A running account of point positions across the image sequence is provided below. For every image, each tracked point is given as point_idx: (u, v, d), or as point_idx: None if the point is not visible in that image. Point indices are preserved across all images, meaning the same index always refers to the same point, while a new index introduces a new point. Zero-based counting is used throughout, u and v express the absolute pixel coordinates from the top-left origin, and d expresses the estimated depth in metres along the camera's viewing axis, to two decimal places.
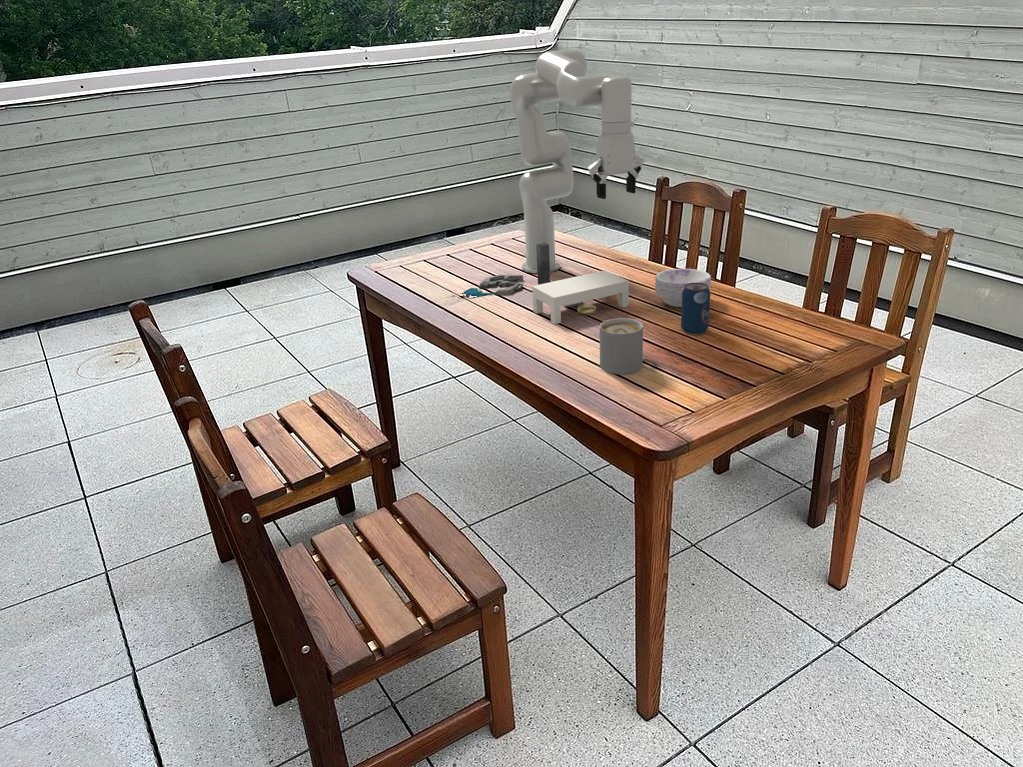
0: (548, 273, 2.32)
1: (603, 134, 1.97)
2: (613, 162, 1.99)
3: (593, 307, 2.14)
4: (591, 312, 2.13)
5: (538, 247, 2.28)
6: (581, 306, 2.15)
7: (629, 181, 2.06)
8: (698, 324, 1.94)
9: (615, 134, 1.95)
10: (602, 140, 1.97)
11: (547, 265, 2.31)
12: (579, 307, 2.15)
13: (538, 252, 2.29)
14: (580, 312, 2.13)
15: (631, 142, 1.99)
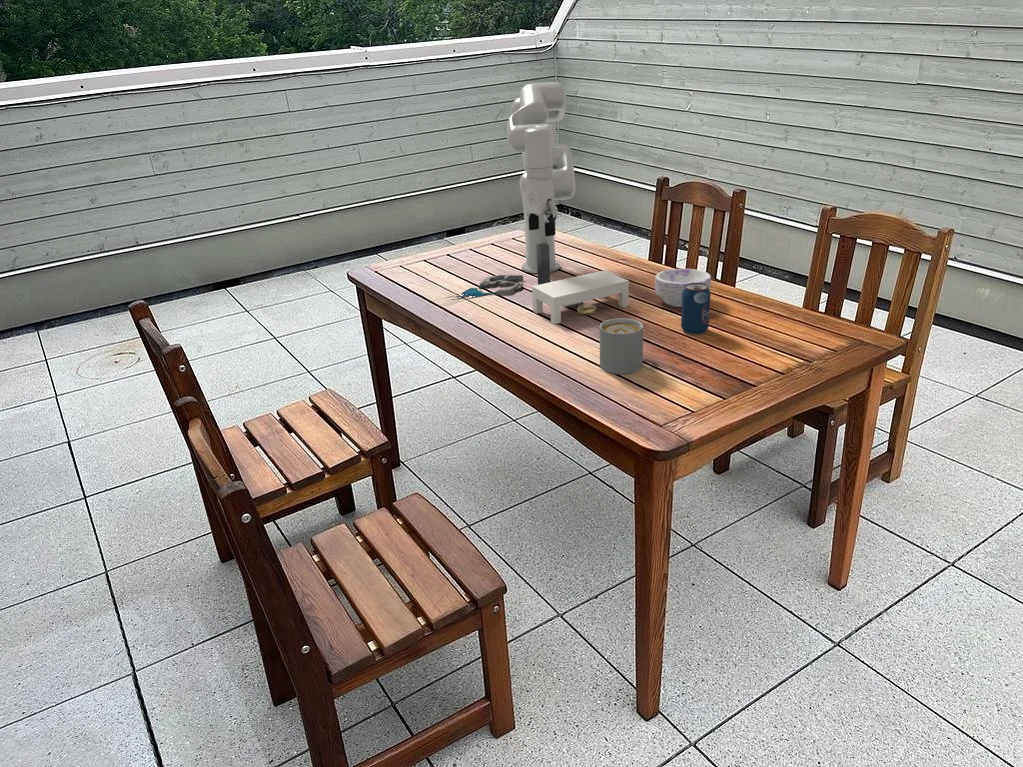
0: (548, 273, 2.32)
1: (544, 179, 2.17)
2: None
3: (593, 307, 2.14)
4: (591, 312, 2.13)
5: (538, 247, 2.28)
6: (581, 306, 2.15)
7: (534, 219, 2.29)
8: (698, 324, 1.94)
9: (552, 176, 2.19)
10: (548, 183, 2.17)
11: (547, 265, 2.31)
12: (579, 307, 2.15)
13: (538, 252, 2.29)
14: (580, 312, 2.13)
15: None
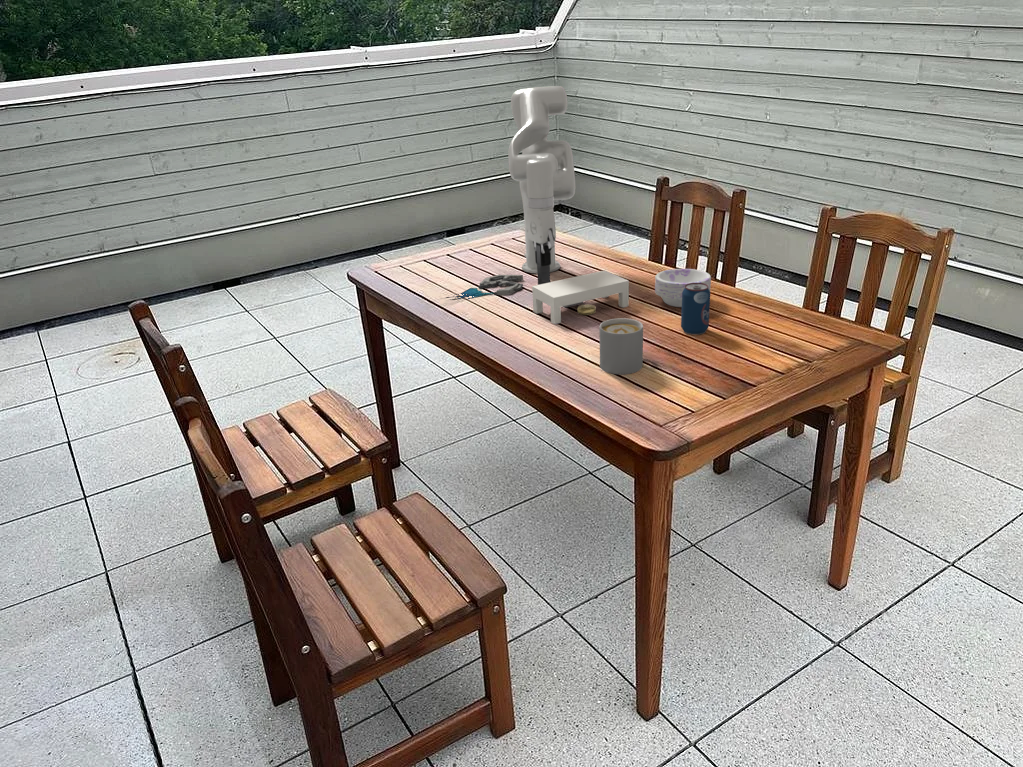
0: (548, 273, 2.32)
1: (545, 208, 2.21)
2: None
3: (593, 307, 2.14)
4: (591, 312, 2.13)
5: (538, 247, 2.28)
6: (581, 306, 2.15)
7: None
8: (698, 324, 1.94)
9: (553, 205, 2.23)
10: (549, 213, 2.21)
11: (547, 265, 2.31)
12: (579, 307, 2.15)
13: (538, 252, 2.29)
14: (580, 312, 2.13)
15: None
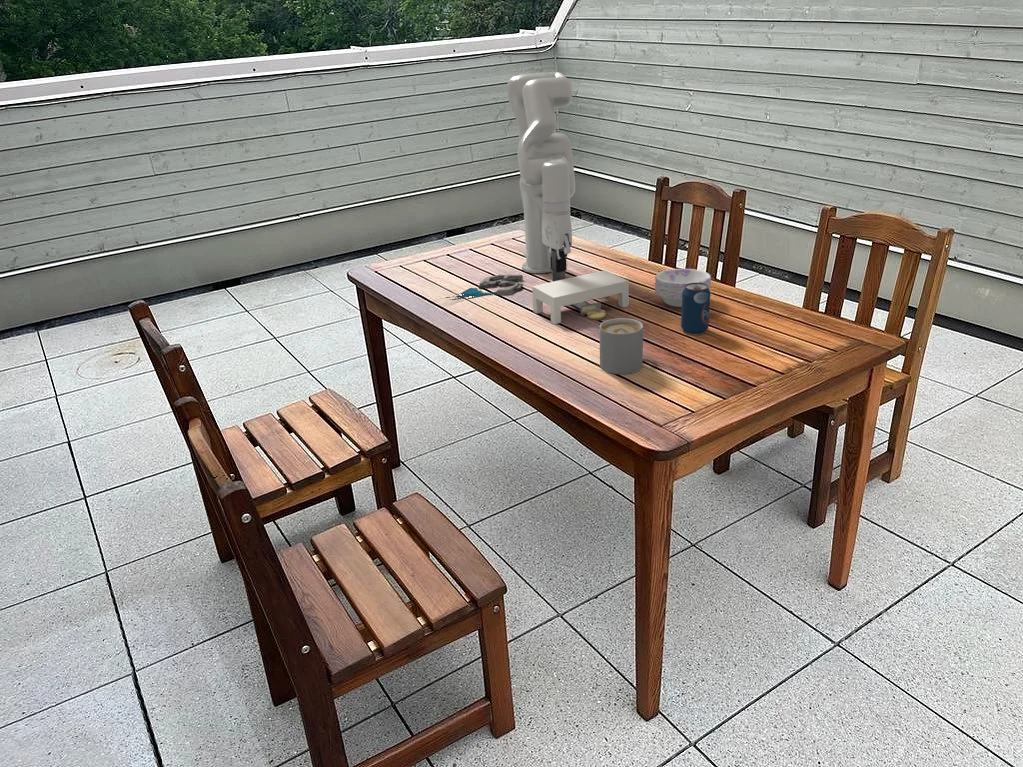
0: None
1: (561, 213, 2.13)
2: None
3: (603, 312, 2.10)
4: (601, 317, 2.09)
5: (553, 253, 2.20)
6: (591, 311, 2.11)
7: None
8: (698, 324, 1.94)
9: (569, 210, 2.15)
10: (565, 217, 2.13)
11: (563, 272, 2.23)
12: (589, 312, 2.11)
13: (553, 258, 2.21)
14: (590, 317, 2.09)
15: None
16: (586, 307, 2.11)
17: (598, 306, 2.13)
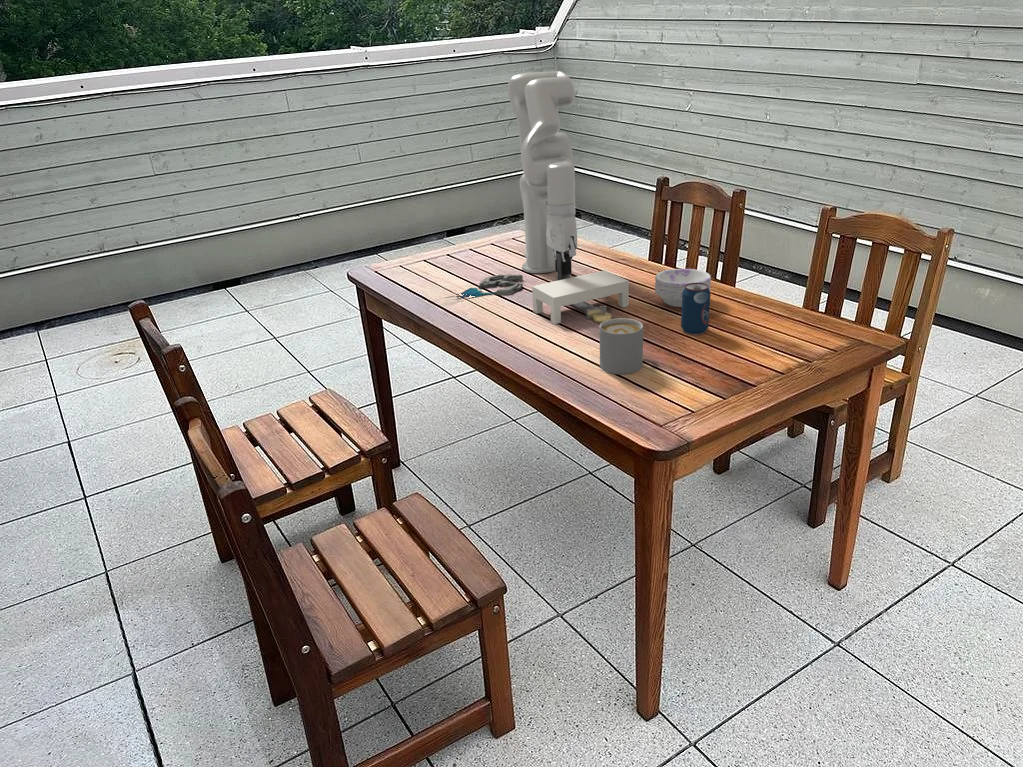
0: None
1: (566, 215, 2.11)
2: None
3: (609, 315, 2.08)
4: None
5: (558, 255, 2.18)
6: (597, 314, 2.09)
7: None
8: (698, 324, 1.94)
9: None
10: (570, 220, 2.11)
11: (568, 275, 2.21)
12: (594, 315, 2.08)
13: (558, 261, 2.19)
14: (595, 320, 2.07)
15: None
16: (592, 310, 2.09)
17: (604, 310, 2.11)
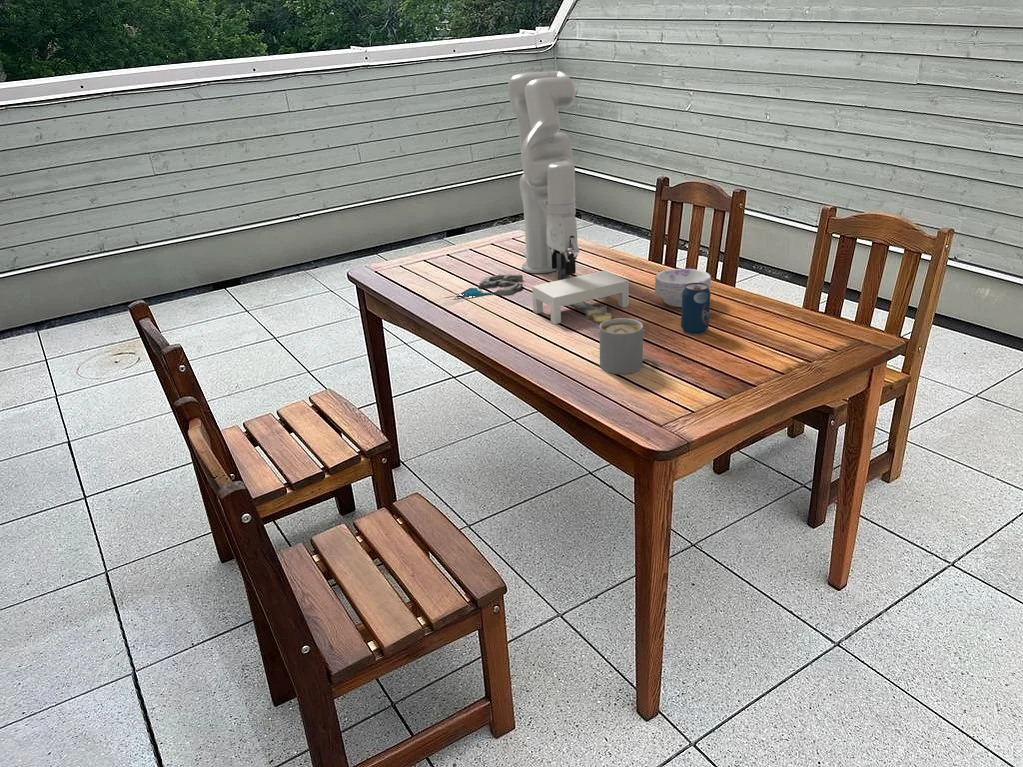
0: None
1: (567, 215, 2.11)
2: None
3: (609, 315, 2.08)
4: None
5: (559, 256, 2.18)
6: (597, 314, 2.09)
7: None
8: (698, 324, 1.94)
9: (575, 212, 2.13)
10: (571, 220, 2.11)
11: (568, 275, 2.21)
12: (595, 315, 2.08)
13: (558, 261, 2.19)
14: (595, 320, 2.07)
15: None
16: (592, 311, 2.09)
17: (604, 310, 2.11)
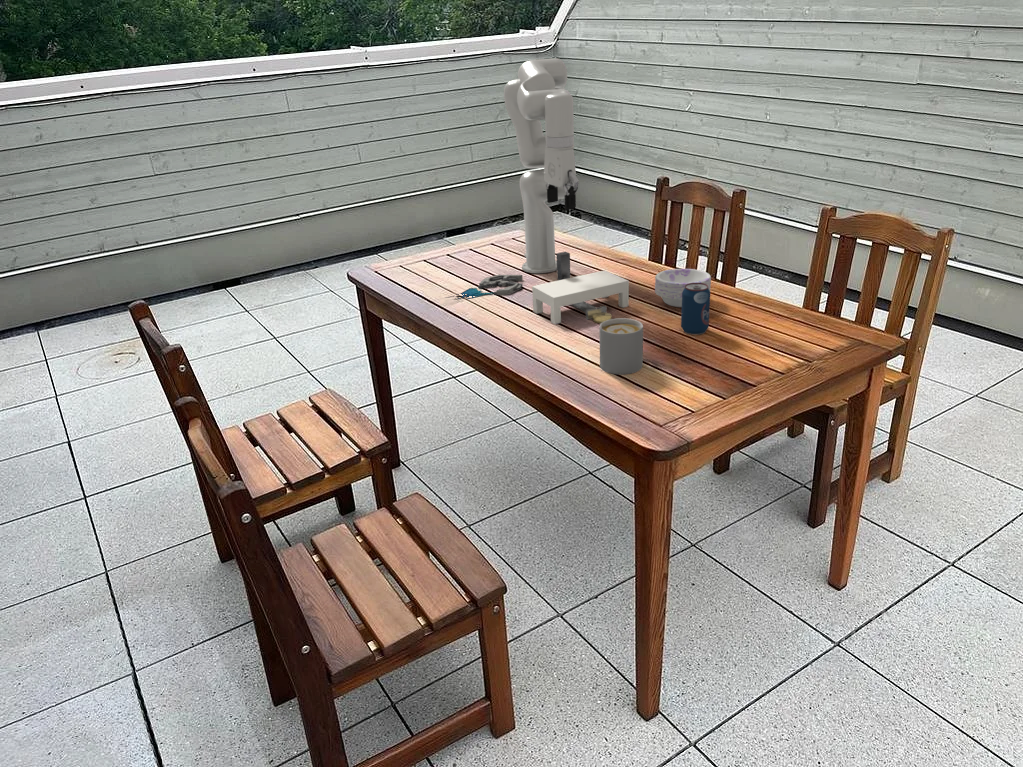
0: None
1: (565, 148, 2.05)
2: None
3: (609, 315, 2.08)
4: None
5: (559, 256, 2.18)
6: (597, 314, 2.09)
7: (553, 191, 2.18)
8: (698, 324, 1.94)
9: (573, 145, 2.07)
10: (569, 153, 2.05)
11: (568, 275, 2.21)
12: (595, 315, 2.08)
13: (558, 261, 2.19)
14: (595, 320, 2.07)
15: None
16: (592, 311, 2.09)
17: (604, 310, 2.11)
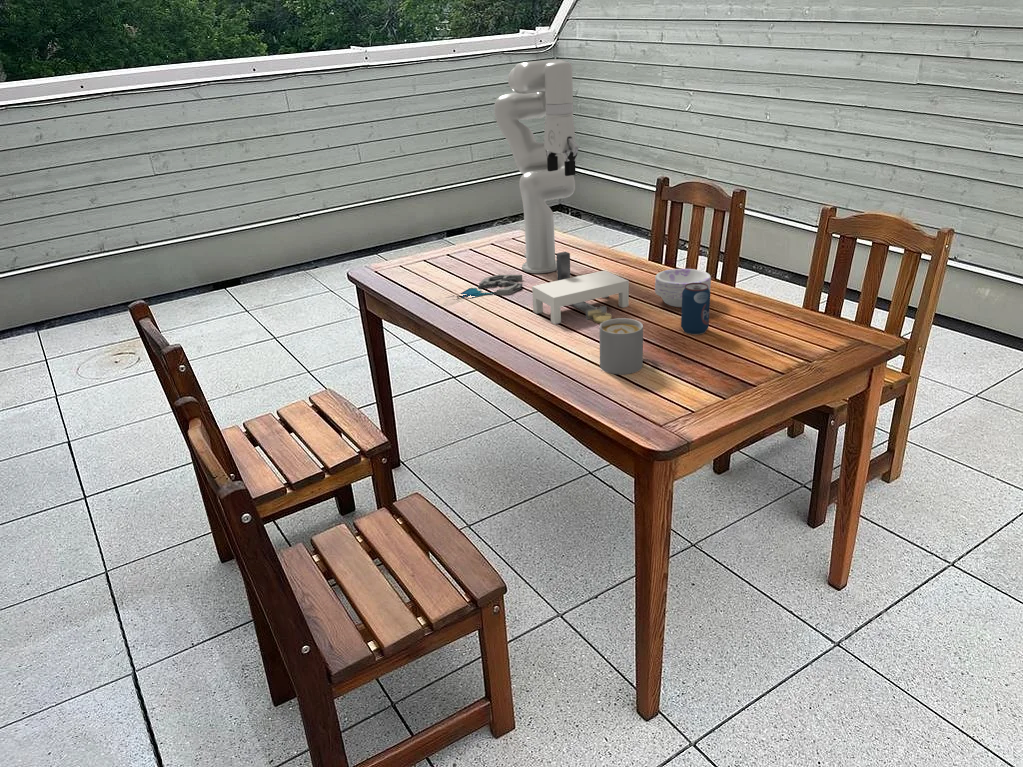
0: None
1: (564, 115, 2.11)
2: None
3: (609, 315, 2.08)
4: None
5: (559, 256, 2.18)
6: (597, 314, 2.09)
7: (553, 160, 2.23)
8: (698, 324, 1.94)
9: (572, 113, 2.13)
10: (568, 120, 2.11)
11: (568, 275, 2.21)
12: (595, 315, 2.08)
13: (558, 261, 2.19)
14: (595, 320, 2.07)
15: None
16: (592, 311, 2.09)
17: (604, 310, 2.11)
